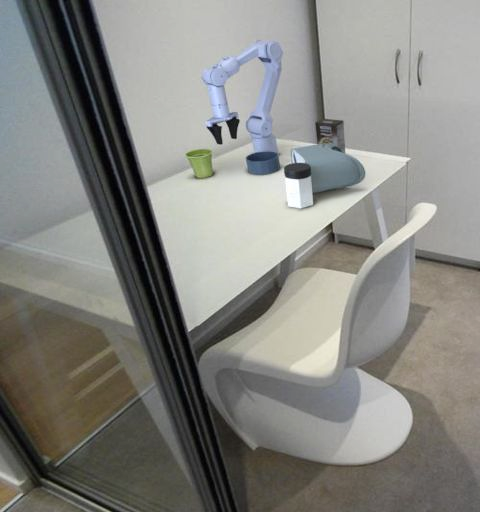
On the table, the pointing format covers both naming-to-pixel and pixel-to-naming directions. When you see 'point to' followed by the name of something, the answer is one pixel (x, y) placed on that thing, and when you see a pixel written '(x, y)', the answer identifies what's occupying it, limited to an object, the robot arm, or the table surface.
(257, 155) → the tub
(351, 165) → the grey-blue rounded tapered piece
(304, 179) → the jar
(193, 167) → the plant pot
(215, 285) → the table surface
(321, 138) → the coffee box
